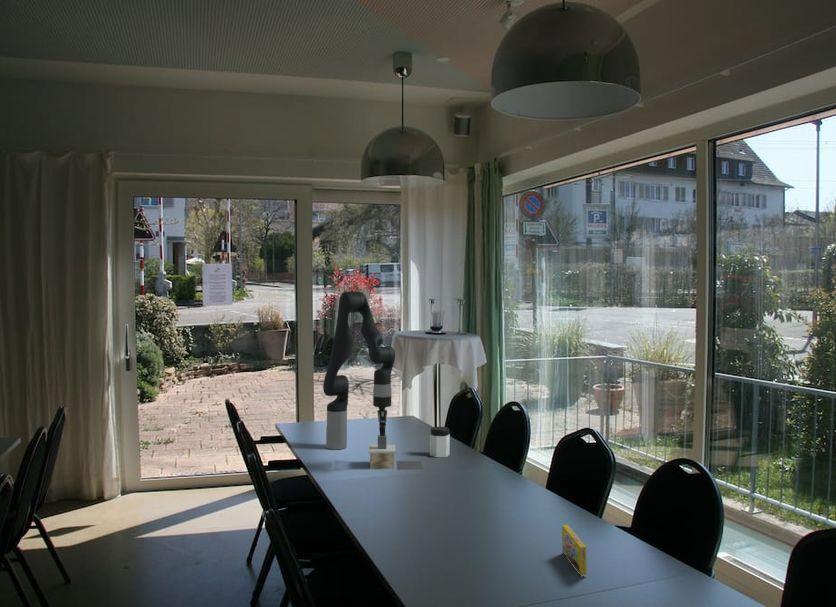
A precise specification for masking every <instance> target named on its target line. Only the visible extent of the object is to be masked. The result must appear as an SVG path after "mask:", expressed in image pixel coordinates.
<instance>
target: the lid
mask: <svg viewBox="0 0 836 607" xmlns="http://www.w3.org/2000/svg"><path fill="white" fill-rule="evenodd" d="M370 453H394V454H396V453H397V450H396V445H395V444H387V434H385V436H380V434H378V435H377V444H368V454H370Z"/></svg>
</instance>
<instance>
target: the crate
mask: <svg viewBox="0 0 836 607" xmlns="http://www.w3.org/2000/svg"><path fill="white" fill-rule="evenodd" d="M369 458H370V460H369V465H370V466H369V468H370V469H372V470H373V469H375V470H377V469H378V470H379V469H381V470H382V469H395V453H369Z"/></svg>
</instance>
